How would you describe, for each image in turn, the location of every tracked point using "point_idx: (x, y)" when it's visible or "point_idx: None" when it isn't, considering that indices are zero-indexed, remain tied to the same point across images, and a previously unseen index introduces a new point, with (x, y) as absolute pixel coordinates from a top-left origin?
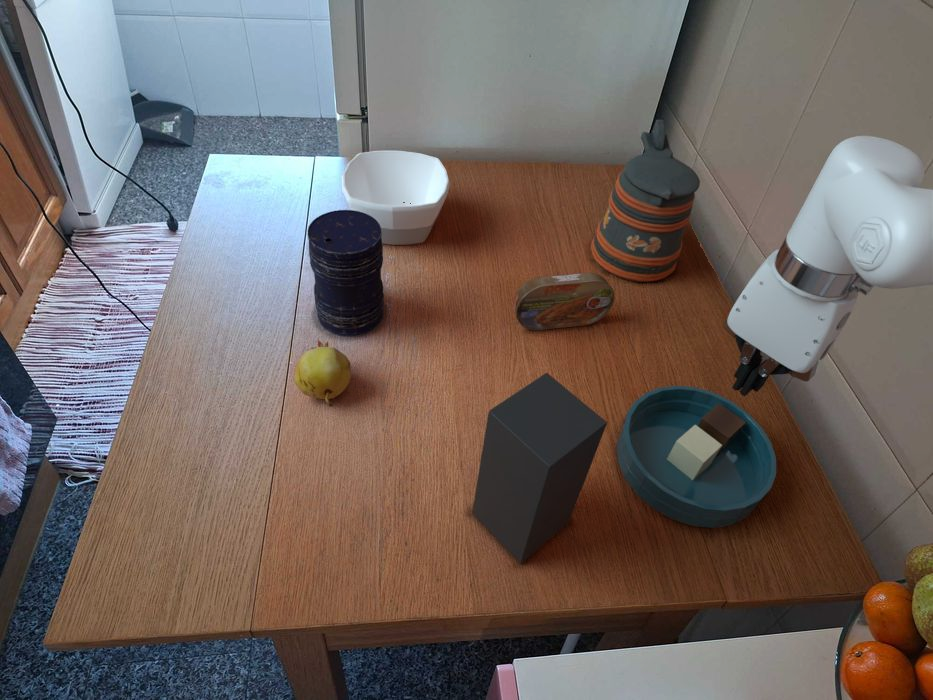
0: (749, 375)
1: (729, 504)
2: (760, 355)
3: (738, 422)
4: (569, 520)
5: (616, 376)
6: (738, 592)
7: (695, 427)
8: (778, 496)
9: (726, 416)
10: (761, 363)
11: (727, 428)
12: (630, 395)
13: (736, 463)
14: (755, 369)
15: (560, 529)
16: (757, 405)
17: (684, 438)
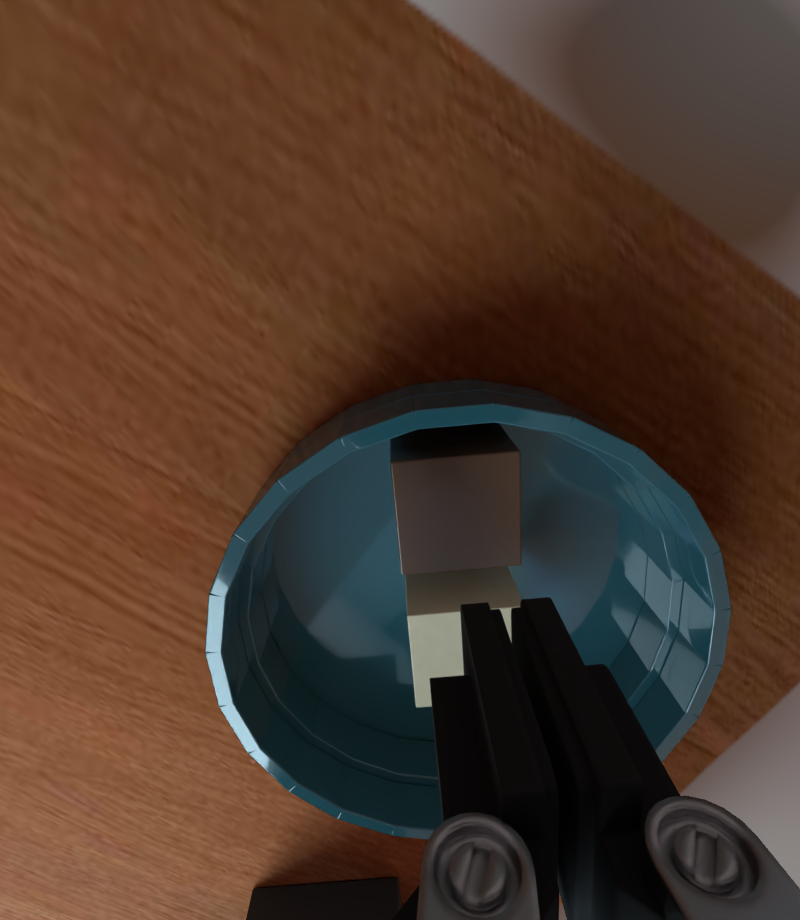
0: (558, 885)
1: (613, 606)
2: (552, 902)
3: (501, 477)
4: (398, 893)
5: (77, 525)
6: (737, 733)
7: (416, 623)
8: (697, 457)
9: (453, 494)
10: (580, 837)
11: (492, 538)
12: (168, 544)
13: (551, 484)
14: (584, 917)
15: (400, 901)
16: (444, 168)
17: (426, 684)
